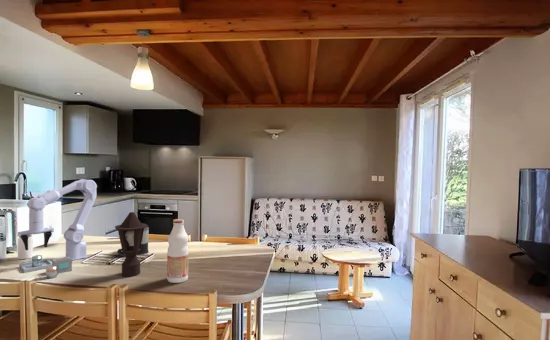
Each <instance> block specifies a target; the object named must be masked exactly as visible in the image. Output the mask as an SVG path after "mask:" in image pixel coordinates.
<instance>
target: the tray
mask: <svg viewBox="0 0 550 340" xmlns="http://www.w3.org/2000/svg"><path fill="white" fill-rule="evenodd" d="M51 265H52V260H50V259H49V258H45V259H43V258H42V266H38V267H32V261H28V262H22V263H19V264H18V267H19V268H20V269H21V271H22V272H23V273H24V274H27V273H31V272H36V271H40V270H46V267H47V266H51Z"/></svg>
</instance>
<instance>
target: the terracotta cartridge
mask: <svg viewBox="0 0 550 340" xmlns="http://www.w3.org/2000/svg"><path fill="white" fill-rule="evenodd" d="M45 274H46V275H45V278H46V279H48V280H50V279H52V280H53V279H56V278H57V277H58V274H57V265H51V266H47V267H46V269H45Z"/></svg>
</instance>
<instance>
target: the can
mask: <svg viewBox="0 0 550 340" xmlns="http://www.w3.org/2000/svg"><path fill="white" fill-rule="evenodd" d="M27 236H28V250H25V245H24V243H23V241H22V239H21V237H18V239H17V259H18V260H21V261H24V260H28V259H32V256H34V237H33V235H27Z"/></svg>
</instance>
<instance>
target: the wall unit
mask: <svg viewBox="0 0 550 340" xmlns="http://www.w3.org/2000/svg"><path fill="white" fill-rule="evenodd" d="M51 262H52V265H57V275H58V274H63V273H68V272H72V271H73V260H72V258H70V257H69V256H68V257H66V256H63V257H58V258H52V259H51Z"/></svg>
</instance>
